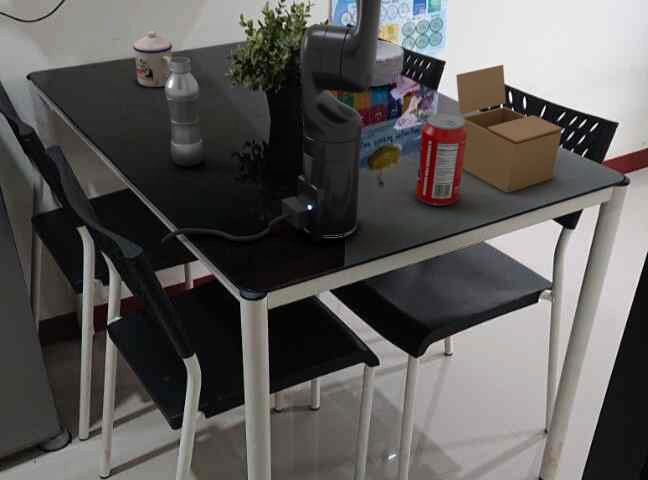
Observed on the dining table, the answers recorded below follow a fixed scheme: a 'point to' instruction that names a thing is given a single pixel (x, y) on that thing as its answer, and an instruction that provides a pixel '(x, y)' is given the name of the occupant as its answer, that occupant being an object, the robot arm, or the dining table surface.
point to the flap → (481, 89)
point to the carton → (510, 148)
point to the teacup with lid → (153, 60)
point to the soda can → (441, 159)
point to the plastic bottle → (184, 113)
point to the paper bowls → (387, 63)
